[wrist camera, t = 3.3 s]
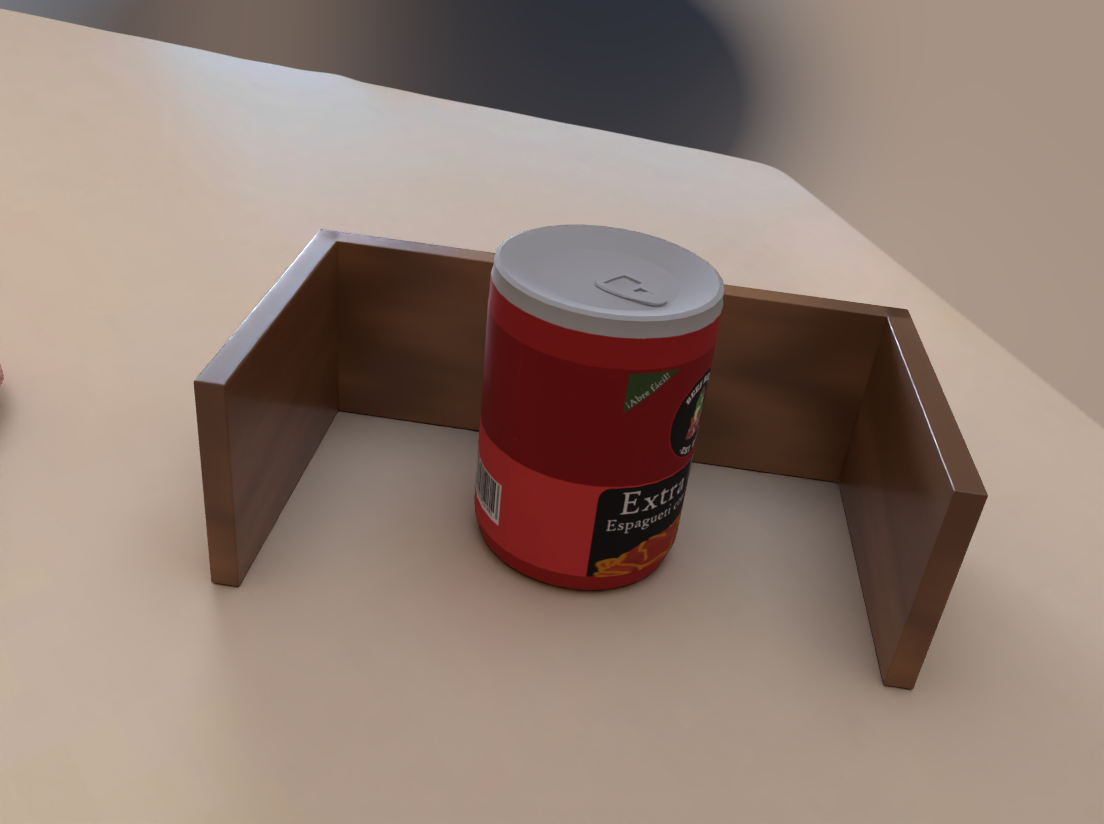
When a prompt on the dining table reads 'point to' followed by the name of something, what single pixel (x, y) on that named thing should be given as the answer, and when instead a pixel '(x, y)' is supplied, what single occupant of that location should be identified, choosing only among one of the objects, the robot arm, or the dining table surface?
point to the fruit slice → (1, 375)
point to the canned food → (591, 400)
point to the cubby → (723, 436)
